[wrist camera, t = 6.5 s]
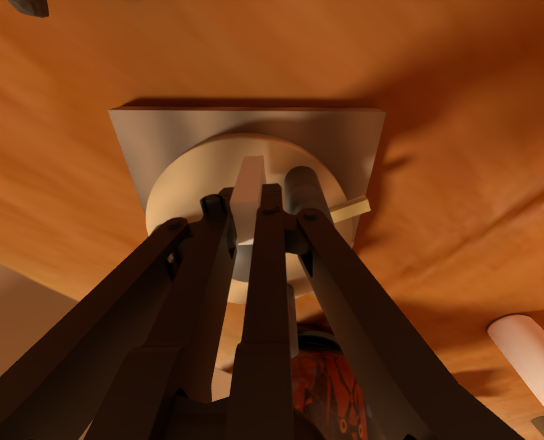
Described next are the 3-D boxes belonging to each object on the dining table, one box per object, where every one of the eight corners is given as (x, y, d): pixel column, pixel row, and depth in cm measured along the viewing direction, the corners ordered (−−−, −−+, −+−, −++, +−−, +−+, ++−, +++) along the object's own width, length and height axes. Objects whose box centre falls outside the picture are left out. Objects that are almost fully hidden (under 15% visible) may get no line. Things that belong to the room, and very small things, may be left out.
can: (521, 307, 36) (612, 400, 27) (537, 323, 39) (627, 414, 29) (478, 325, 39) (546, 416, 29) (495, 339, 42) (564, 427, 32)
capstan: (129, 245, 27) (72, 317, 19) (211, 73, 17) (162, 84, 10) (273, 310, 33) (272, 383, 26) (391, 210, 24) (445, 279, 16)
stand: (177, 281, 34) (171, 294, 32) (120, 106, 21) (105, 110, 19) (337, 283, 34) (341, 296, 32) (378, 107, 21) (388, 112, 19)
